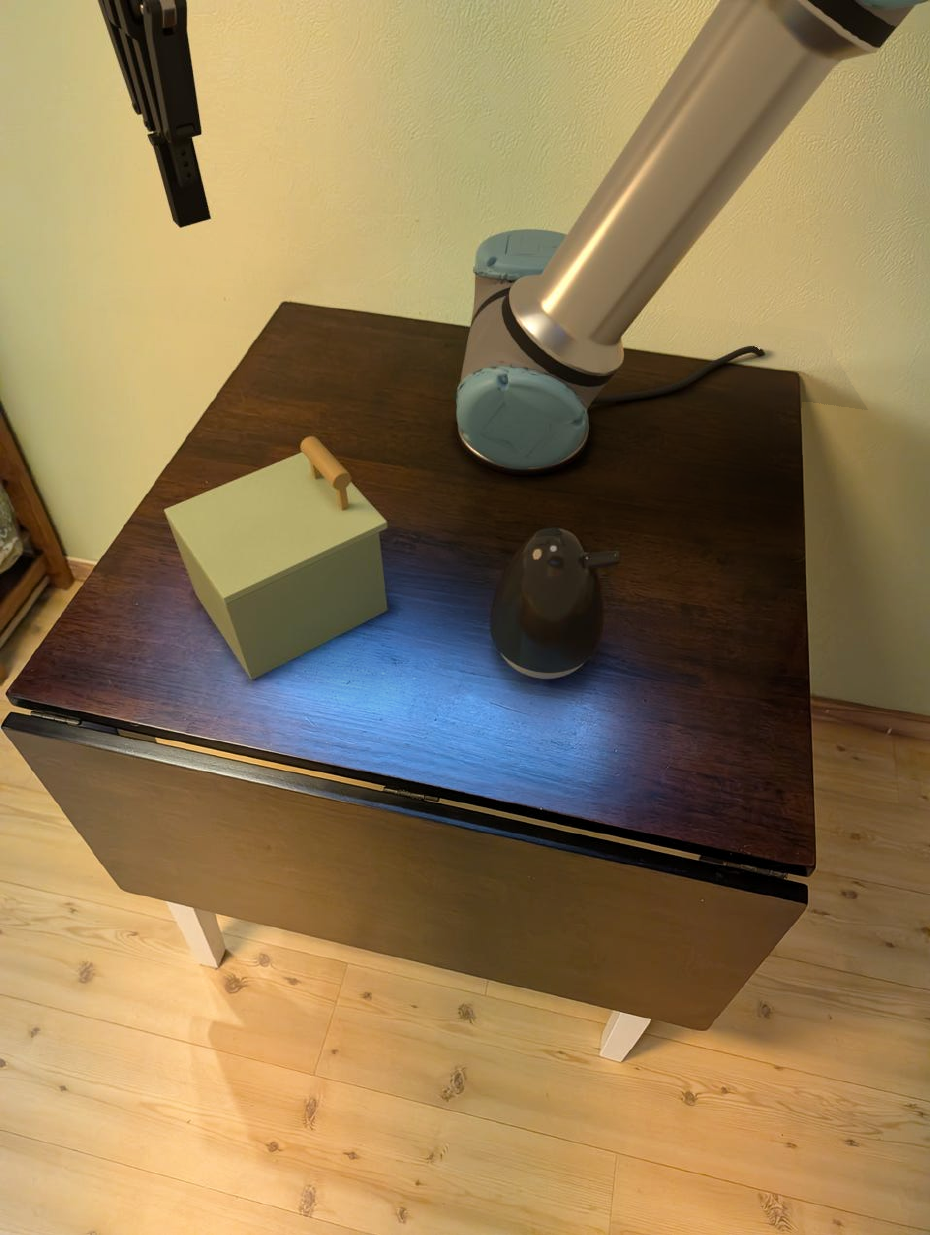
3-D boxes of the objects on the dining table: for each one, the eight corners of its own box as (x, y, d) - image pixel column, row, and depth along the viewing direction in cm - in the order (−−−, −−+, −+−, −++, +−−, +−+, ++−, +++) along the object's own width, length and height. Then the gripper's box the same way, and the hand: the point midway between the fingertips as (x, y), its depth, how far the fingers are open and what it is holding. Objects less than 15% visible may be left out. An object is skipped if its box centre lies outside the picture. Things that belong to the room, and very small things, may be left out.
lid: (319, 451, 81) (312, 408, 77) (387, 528, 74) (383, 485, 70) (165, 515, 75) (149, 473, 71) (225, 604, 69) (211, 562, 65)
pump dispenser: (593, 705, 75) (617, 595, 64) (479, 686, 77) (482, 574, 65) (604, 618, 82) (628, 503, 70) (499, 602, 83) (504, 486, 71)
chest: (325, 535, 89) (311, 455, 81) (387, 610, 82) (379, 532, 74) (196, 594, 84) (166, 516, 75) (251, 680, 77) (225, 605, 69)
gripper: (0, -179, 53) (119, 201, 71) (67, -144, 46) (180, 266, 65) (115, -191, 56) (202, 179, 74) (195, -159, 49) (269, 239, 67)
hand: (192, 219), depth 69 cm, fingers closed
